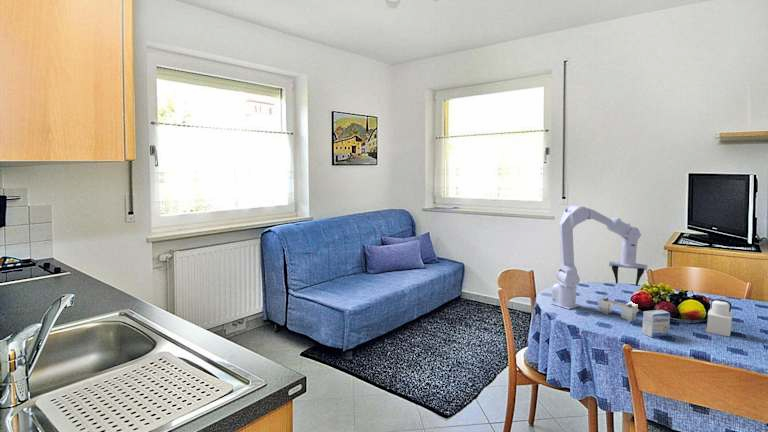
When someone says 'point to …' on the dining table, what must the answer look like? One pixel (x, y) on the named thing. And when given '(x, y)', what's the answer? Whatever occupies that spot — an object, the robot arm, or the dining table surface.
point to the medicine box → (656, 323)
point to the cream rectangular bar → (634, 305)
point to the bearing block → (627, 310)
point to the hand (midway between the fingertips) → (626, 284)
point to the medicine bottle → (719, 318)
